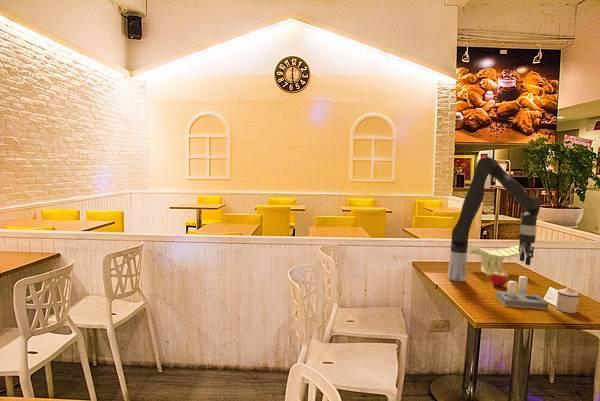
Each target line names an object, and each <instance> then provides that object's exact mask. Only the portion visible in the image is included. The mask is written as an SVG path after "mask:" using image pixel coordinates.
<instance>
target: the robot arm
mask: <svg viewBox="0 0 600 401" xmlns="http://www.w3.org/2000/svg"><path fill="white" fill-rule="evenodd" d="M488 176H491V177H493V178H494V179H495V180H497V181H498V183H499V184H500V185H501V186H502V187H503V189H504V190H505V191H506V192H507V193H508V194H509V195H511V196H512V197H513V198H514V199H515V200H516V202H517V203H518V204H519V206H520V207H522V208H523V209H525V212H524V213H523V214H522V216H521V221H520V223H521V224H520V228H519V237H518V241H519V245H518V246H519V252H520V255H519V261H520V262H524V264H525V265H526V266H530V265H531V260H532V259H533V258H534V251H535V250H534V249H535V248H534V246H532V244H534V243H535V242H536V234H537V218H538V215H539V213H540V209H541V200H540V198H539V197H538V196H535V195H530V194H528V193H527V189H526V188H525V187H524V186H522V185H521V184H520V183H519V182H518V181H517V180H515V179H514V178H513V177H512V176H511V175H510V174H508V173H507V172H506V171H505V170H504V169H503V168H502V166H501V165H500V164H499V162H498V161H497V160H495V158H492V157H489V156H482V157H481V158H480V159H478V162H477V163H476V166H475V170H474V174H473V178H472V180H471V183H470V185H469V188H468V191H467V193H466V194H465V198H464V200H463V203H462V206H461V210H460V215H459V218H458V220H457V222H456V223H455V226H453V228H452V232H451V241H450V242H451V243H450V256H449V261H448V272H447V278H448V280H449V281H454V282H458V283H459V282H465V280H466V271H467V260H468V259H467V256H468V245H469V234H470V230H471V226H472V224H473V221H474V220H475V219H474V218H475V217H476V216H477V213H478V211H479V210H480V207H481V205H482V202H483V200H484V196H485V185H486V180H487V178H488Z"/></svg>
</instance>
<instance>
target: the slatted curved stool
mask: <svg viewBox="0 0 600 401" xmlns="http://www.w3.org/2000/svg"><path fill="white" fill-rule="evenodd" d="M473 254H474V255H478V256H480V260H481V266H480V271H482V272H483V273H484V274H485V275H487V276H490V277H491V275H492V273H494V272H500V273H504V274H506V276H507V278H508V277H509V278H510V276H509V273H507V272H506V271H505V270H504V269H503V267H502V264H503V261H504V259H505V258H507V259H512V258H513V257H515V258H518V257H519V256H520V252H519V245H513V246H511V247H507V248H503V249H496V250H494V249H492V250H491V249H489V250H488V249H485V248H481V247H479V246H476V245H475V244H473V243H471V242H470V243H469V242H468V248H467V255H473ZM500 269H501V270H500Z"/></svg>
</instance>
